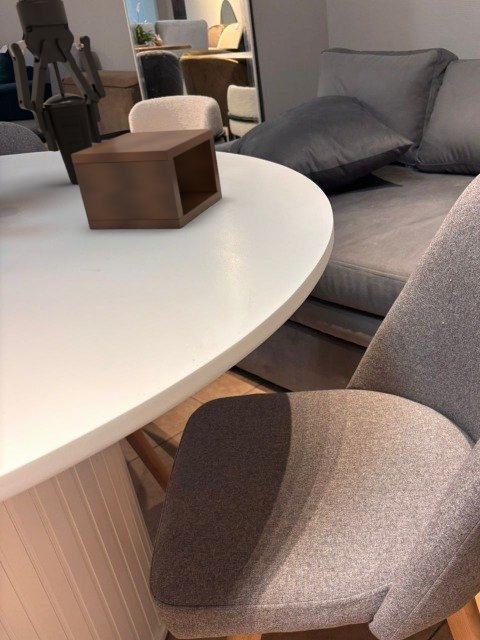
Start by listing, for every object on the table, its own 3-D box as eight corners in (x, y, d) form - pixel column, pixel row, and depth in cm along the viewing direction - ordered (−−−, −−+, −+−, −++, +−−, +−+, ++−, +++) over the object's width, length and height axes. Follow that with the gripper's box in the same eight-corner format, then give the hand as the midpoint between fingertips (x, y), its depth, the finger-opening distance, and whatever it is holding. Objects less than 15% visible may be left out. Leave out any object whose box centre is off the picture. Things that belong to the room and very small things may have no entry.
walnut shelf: (89, 228, 90) (70, 154, 85) (141, 199, 103) (127, 132, 98) (180, 228, 86) (166, 150, 81) (222, 197, 99) (212, 128, 94)
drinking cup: (103, 174, 123) (76, 57, 113) (106, 181, 117) (77, 58, 107) (63, 180, 121) (31, 62, 111) (63, 188, 115) (30, 63, 105)
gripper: (-19, 1, 96) (27, 159, 108) (105, -7, 107) (135, 138, 119) (-33, 4, 101) (12, 155, 113) (87, -4, 112) (117, 135, 124)
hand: (75, 146), depth 116 cm, fingers closed on drinking cup, 8 cm apart
